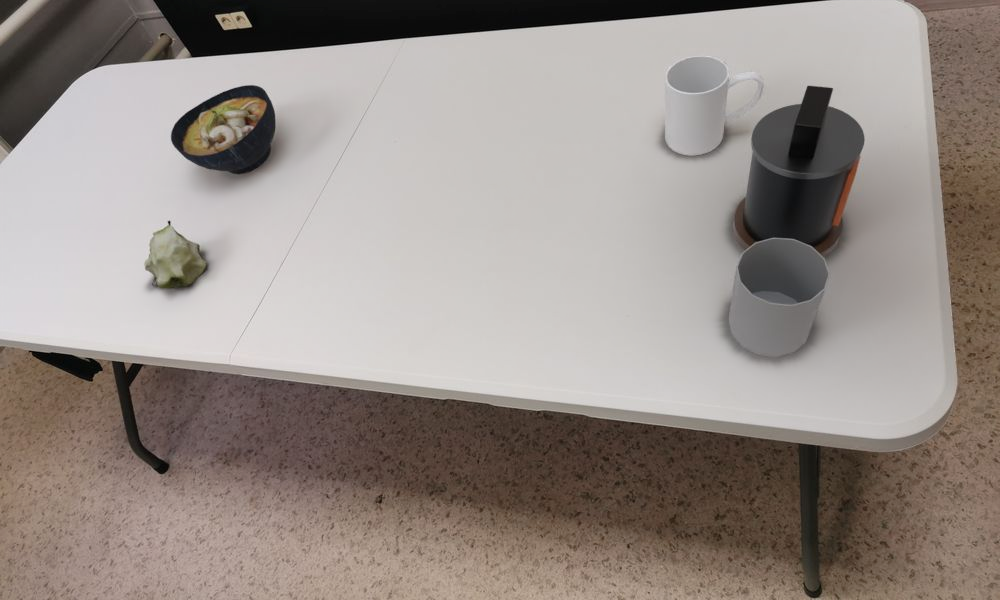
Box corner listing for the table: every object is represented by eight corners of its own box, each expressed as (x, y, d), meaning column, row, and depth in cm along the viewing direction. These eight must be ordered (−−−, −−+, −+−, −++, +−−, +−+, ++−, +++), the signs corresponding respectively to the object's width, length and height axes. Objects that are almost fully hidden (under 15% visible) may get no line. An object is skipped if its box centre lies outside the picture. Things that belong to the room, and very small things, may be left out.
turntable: (848, 201, 75) (851, 193, 74) (829, 277, 70) (832, 269, 69) (746, 185, 80) (748, 176, 79) (721, 254, 75) (722, 246, 74)
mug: (664, 158, 86) (664, 96, 78) (665, 120, 90) (665, 58, 82) (757, 153, 83) (768, 88, 74) (754, 114, 87) (763, 49, 79)
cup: (810, 297, 69) (829, 241, 61) (810, 361, 65) (830, 309, 57) (731, 290, 72) (739, 235, 64) (725, 351, 68) (733, 300, 60)
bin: (845, 196, 74) (884, 77, 61) (827, 263, 69) (866, 150, 56) (752, 180, 78) (770, 67, 65) (730, 242, 74) (744, 134, 60)
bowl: (202, 146, 113) (167, 102, 105) (289, 112, 113) (261, 65, 105) (203, 206, 103) (165, 162, 95) (299, 169, 103) (268, 121, 95)
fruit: (182, 252, 99) (158, 213, 93) (226, 266, 96) (206, 226, 91) (139, 291, 94) (111, 252, 88) (185, 306, 91) (160, 267, 85)
